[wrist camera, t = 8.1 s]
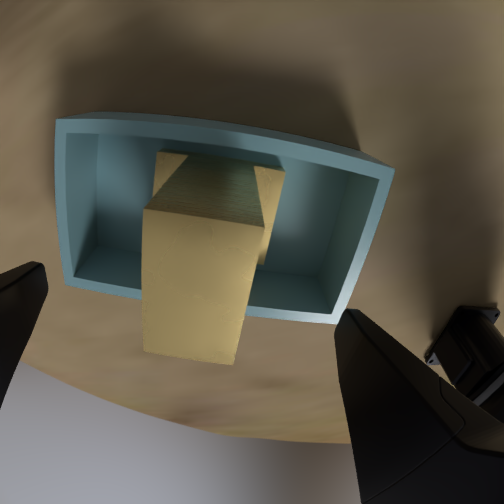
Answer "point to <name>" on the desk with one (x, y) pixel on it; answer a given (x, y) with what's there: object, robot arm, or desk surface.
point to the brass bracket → (203, 251)
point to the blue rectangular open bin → (227, 145)
